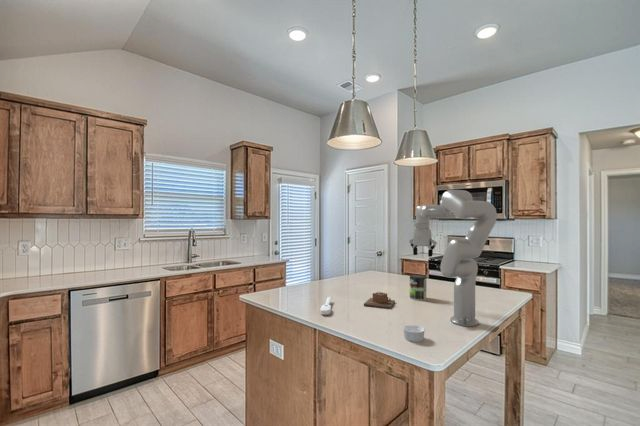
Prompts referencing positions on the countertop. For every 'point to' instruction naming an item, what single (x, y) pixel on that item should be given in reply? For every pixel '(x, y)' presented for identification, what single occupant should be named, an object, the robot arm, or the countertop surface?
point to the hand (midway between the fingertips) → (422, 255)
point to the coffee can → (418, 287)
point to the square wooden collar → (380, 298)
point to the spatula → (326, 307)
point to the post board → (384, 305)
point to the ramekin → (413, 333)
